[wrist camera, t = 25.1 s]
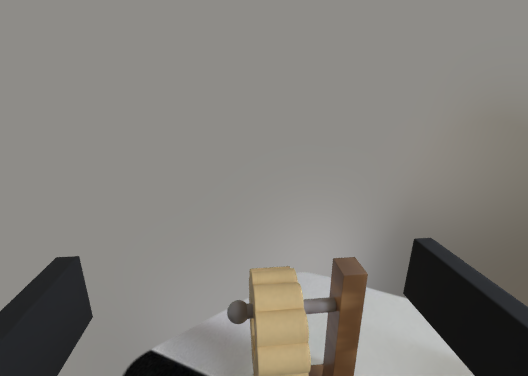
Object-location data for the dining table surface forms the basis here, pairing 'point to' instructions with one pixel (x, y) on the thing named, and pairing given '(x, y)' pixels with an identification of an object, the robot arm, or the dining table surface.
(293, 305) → the yellow scalloped ring
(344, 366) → the hook stand
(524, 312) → the robot arm
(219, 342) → the dining table surface
